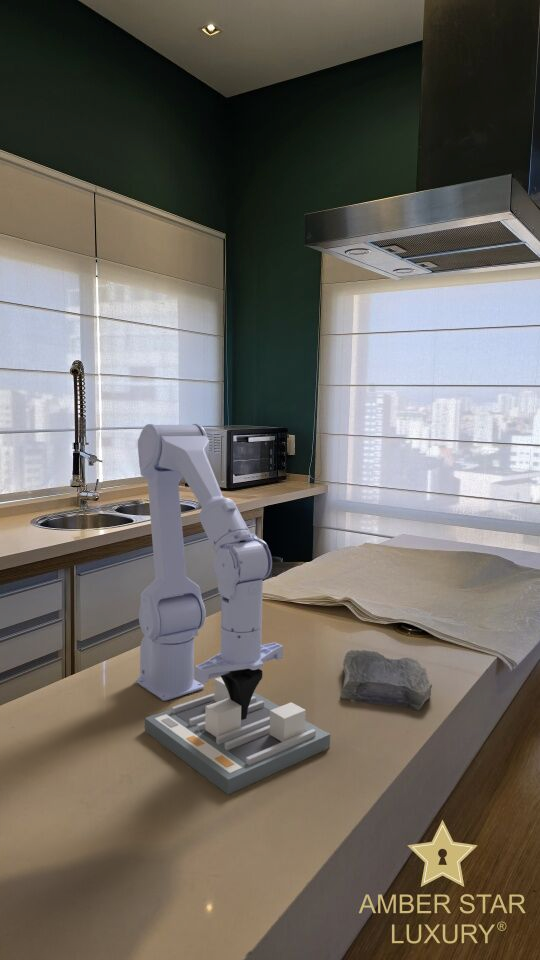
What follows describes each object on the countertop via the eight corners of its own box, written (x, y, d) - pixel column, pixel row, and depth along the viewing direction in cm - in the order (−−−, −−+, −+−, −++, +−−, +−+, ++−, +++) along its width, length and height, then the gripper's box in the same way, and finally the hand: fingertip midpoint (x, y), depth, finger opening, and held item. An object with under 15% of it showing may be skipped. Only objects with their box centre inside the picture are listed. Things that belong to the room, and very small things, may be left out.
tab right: (269, 734, 93) (270, 710, 92) (290, 725, 95) (291, 702, 95) (283, 742, 90) (284, 718, 90) (305, 733, 93) (305, 710, 92)
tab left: (214, 700, 102) (214, 678, 102) (234, 693, 105) (235, 672, 104) (226, 707, 100) (226, 685, 100) (246, 700, 103) (247, 678, 102)
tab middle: (205, 729, 93) (205, 706, 93) (227, 721, 96) (228, 698, 95) (217, 738, 91) (218, 714, 91) (240, 729, 94) (241, 705, 93)
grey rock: (429, 714, 105) (430, 692, 105) (331, 700, 109) (332, 678, 109) (433, 676, 120) (434, 656, 119) (346, 665, 124) (347, 645, 123)
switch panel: (144, 730, 97) (144, 712, 97) (241, 697, 109) (241, 680, 108) (228, 794, 82) (228, 773, 82) (329, 747, 94) (330, 728, 93)
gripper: (216, 645, 86) (215, 744, 88) (298, 622, 95) (295, 712, 97) (186, 630, 91) (185, 723, 93) (266, 610, 101) (264, 695, 102)
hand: (239, 716), depth 95 cm, fingers closed
